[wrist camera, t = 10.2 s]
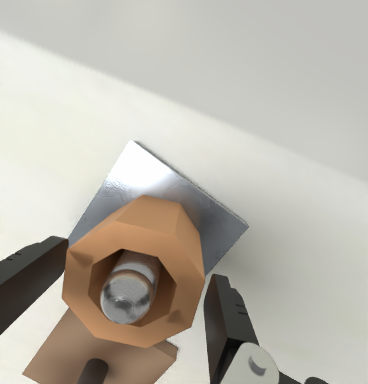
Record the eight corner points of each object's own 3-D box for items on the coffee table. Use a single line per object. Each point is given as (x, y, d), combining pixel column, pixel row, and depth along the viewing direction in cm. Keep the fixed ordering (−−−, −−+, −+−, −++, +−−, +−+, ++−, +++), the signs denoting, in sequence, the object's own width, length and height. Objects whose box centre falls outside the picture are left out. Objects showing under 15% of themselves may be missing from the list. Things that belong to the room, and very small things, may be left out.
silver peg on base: (244, 221, 14) (302, 295, 7) (169, 309, 16) (152, 438, 9) (135, 141, 13) (68, 129, 6) (67, 245, 15) (-45, 332, 8)
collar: (206, 209, 13) (216, 245, 8) (184, 286, 14) (182, 356, 10) (116, 188, 13) (71, 210, 8) (103, 267, 14) (57, 328, 9)
